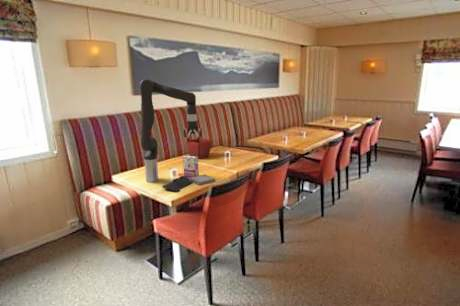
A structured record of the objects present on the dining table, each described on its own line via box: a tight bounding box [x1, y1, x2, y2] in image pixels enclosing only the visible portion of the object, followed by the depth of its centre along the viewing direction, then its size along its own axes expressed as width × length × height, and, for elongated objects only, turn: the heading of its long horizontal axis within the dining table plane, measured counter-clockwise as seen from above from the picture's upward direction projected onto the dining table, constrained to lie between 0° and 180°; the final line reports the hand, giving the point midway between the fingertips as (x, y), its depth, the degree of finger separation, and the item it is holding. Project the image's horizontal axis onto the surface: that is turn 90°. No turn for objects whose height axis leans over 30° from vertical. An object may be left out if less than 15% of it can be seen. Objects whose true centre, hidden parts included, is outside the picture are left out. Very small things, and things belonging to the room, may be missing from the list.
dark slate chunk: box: [162, 175, 194, 192], centre depth 212 cm, size 15×22×5 cm
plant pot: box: [185, 138, 213, 160], centre depth 291 cm, size 19×19×17 cm
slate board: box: [188, 174, 216, 186], centre depth 221 cm, size 14×14×2 cm
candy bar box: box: [182, 155, 200, 178], centre depth 229 cm, size 11×5×16 cm, turn 61°
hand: (193, 142), depth 221 cm, fingers open, 6 cm apart
